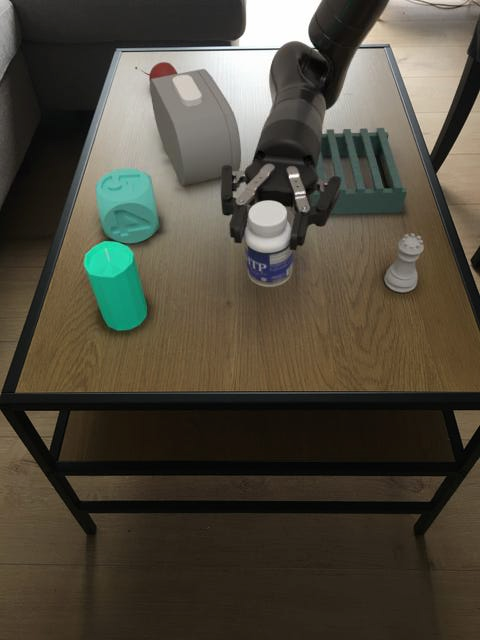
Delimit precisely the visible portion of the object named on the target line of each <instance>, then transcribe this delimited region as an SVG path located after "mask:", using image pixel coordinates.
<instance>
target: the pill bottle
mask: <svg viewBox="0 0 480 640" xmlns="http://www.w3.org/2000/svg"><path fill="white" fill-rule="evenodd" d="M248 217H249V218H248V222H247V226H246V228H245V231H244V236H243V239H244V250H245V251H244V252H245V262H246V272H247V275H248V278H249V279H250V280H251V282H253V283H255V284H256V285H258V286H259V287H265V288H274V287H278V286H281V285H283V284H285V283H286V282H287V281H288V280H290V278H291V276H292V275H293V270H294V269H293V268H294V250H290V237H291V231H292V225H291V223H290V222H289V221H288V211H287V208H286V207H285V206H283V205H282V204H280V203H279V202H276V201H270V200H269V201H261V202H258V203H256V204H255V205H253V206H252V207H251V208H250V210H249V214H248Z"/></svg>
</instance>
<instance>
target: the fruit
mask: <svg viewBox="0 0 480 640" xmlns="http://www.w3.org/2000/svg"><path fill="white" fill-rule="evenodd" d="M134 69H135V70H137V69H138V66H135V67H134ZM140 71H141V72H142V73H144V74H145V75H147V76H148V81H149V82H150V80H151V79H154V78H159V77H164V76H169V75H174V74H179V73H178V71H177V70H176V68H175V67H174V66H173V65H172V64H171V62H167V61H163V62H158V63H156V64H155V65H153V67H152V68H151V70H150V72H149V73H148V72H145V71H144V70H142V69H140Z"/></svg>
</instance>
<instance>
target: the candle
mask: <svg viewBox="0 0 480 640" xmlns="http://www.w3.org/2000/svg"><path fill="white" fill-rule="evenodd" d="M83 266H84V269H85V273H86V275H87V278H88V281H89V284H90V286H91V289H92V291H93V294H94V297H95V299H96V302H97V305H98V308H99V311H100V313H101V316H102V318H103V320H104V323H105V324H106V326H107V327H108V328H110V329H113V330H115V331H119V332H120V331H130V330H132V329H135V328H136V327H138V326H141V324H142V323H143V322H144V321H145V319H146V318H147V315H148V306H147V301H146V298H145V294H144V290H143V286H142V282H141V278H140V273H139V270H138V265H137V262H136V257H135V254H134V252H133V251H132V249H131V248H130V247H129V246H127V245H125V244H124V243H122V242H118V241H111V240H104V241H102V242H100V243H98V244H96V245H94V246H92V247H91V248H90V250H89V251H88V252H86V253H85V255H84V260H83Z"/></svg>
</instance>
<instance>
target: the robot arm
mask: <svg viewBox="0 0 480 640" xmlns="http://www.w3.org/2000/svg"><path fill="white" fill-rule="evenodd" d="M389 3H390V0H321V1H320V2H319V4H318V6H317V8H316V10H315V12H314V13H313V15H312V17H311V18H310V21H309V24H308V29H307V34H308V38H309V41H310V43H311V44H312V46H313V47H314V48H315V49H314V48H313V47H311V46H310V45H308V44H306V43H304V42H302V41H299V40H291V41H288V42H286V43H284V44H283V45H282V46H280V47H279V48H278V49H277V50H276V52H275V54H274V56H273V58H272V60H271V64H270V68H269V75H268V86H269V93H270V98H271V107H270V111H269V113H268V116H267V117H266V119H265V121H264V124H263V126H262V130H261V132H260V136H259V139H258V142H257V145H256V148H255V151H254V155H253V158H252V161H251V163H250V164H249V165H247V167H246V168H245V169H244V170H238V171H232V166H230V165H224V166H223V167H222V175H221V177H220V203H221V204H220V205H221V213H222V215H223V216H226V217H228V216H231V217H230V222H229V237H230V238H232V239H233V243H234V244H242V243H243V239H244V231H245V228H246V226H247V224H248V223H249V217H248V214H249V210H250V208H251V207H252V206H253V205H255V204H256V203H258V202H261V201H269V200H270V201H276V202H279V203H280V204H282V205H283V206H284V207H285V208H286V207H287V208H289V209H290V212H291V215H292V217H293V221H292V225H291V227H292V231H291V237H290V250H293V251H297V249H298V247H303V246H304V244H305V242H306V236H307V233H308V232H307V231H308V228H309V226H311V225H315V226H316V227H319V228H321V227H324V226H325V225H326V224H327V222H328V220H329V218H330V215H332V214H331V212H332V210H333V208H334V206H335V204H336V202H337V200H338V197H339V191H340V184H341V178H340V177H338V176H334V175H333V176H331V177H330V178H329V180H328V179H326V180H324V179H320V178H318V175H317V173H316V168H317V163H318V158H319V154H320V151H321V142H322V134H323V126H324V121H325V117H326V111H328V110H330V109H332V107H334V105H335V104H336V103H337V101H338V100H339V98H340V97H341V93H342V91H343V88H344V85H345V81H346V79H347V75H348V72H349V69H350V66H351V63H352V61H353V59H354V57H355V55H356V54H357V52H358V50H359V48H360V47H361V46H362V44H363V42H364V41H365V39H367V37H368V35H370V32H371V31H372V30H373V28H374V27H375V26H376V24H377V22H378V21H379V19H380V18H381V16H383V13H384V12H385V10H386V8H387V6H388V4H389ZM243 183H245V185H246V187H245V189H244V191H243V192H242V193H240V195H239V196H238V197H235V196H234V192H235V193H236V192H237V191H238V188H239V187H240V186H241V184H243ZM316 190H318V191H319V196H320V199H319V201H318V203H317V205H316V206H313V207H311V205H310V202H309V201H308V198H307V197H309V195H310V194H311V193H313V192H314V191H316Z"/></svg>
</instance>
